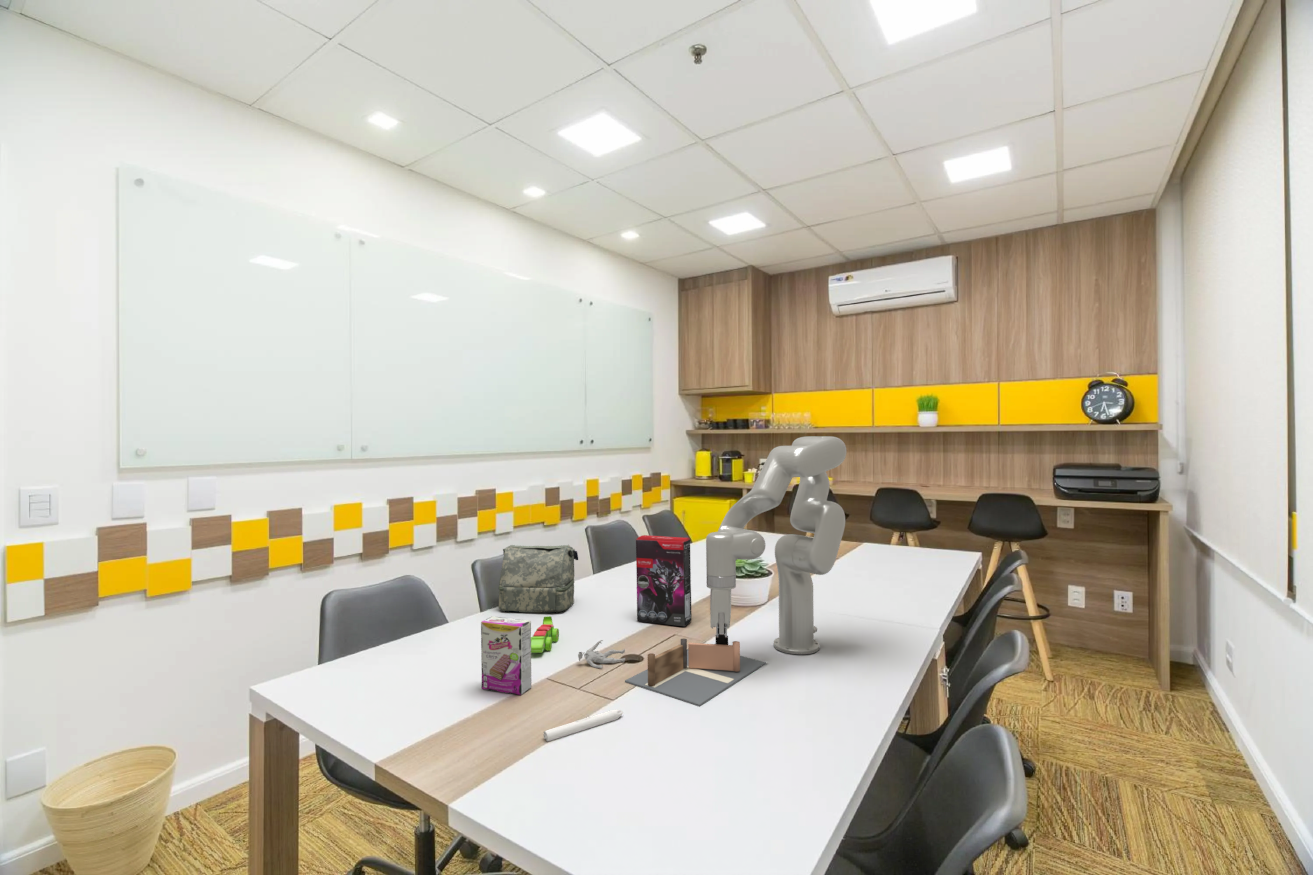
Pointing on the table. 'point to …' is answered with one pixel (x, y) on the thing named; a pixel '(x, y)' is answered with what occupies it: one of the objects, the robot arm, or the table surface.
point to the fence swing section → (714, 656)
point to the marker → (581, 725)
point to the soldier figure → (600, 656)
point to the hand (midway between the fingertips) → (721, 651)
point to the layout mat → (697, 681)
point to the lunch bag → (537, 578)
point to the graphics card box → (663, 580)
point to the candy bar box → (506, 655)
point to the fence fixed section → (667, 663)
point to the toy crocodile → (544, 636)
